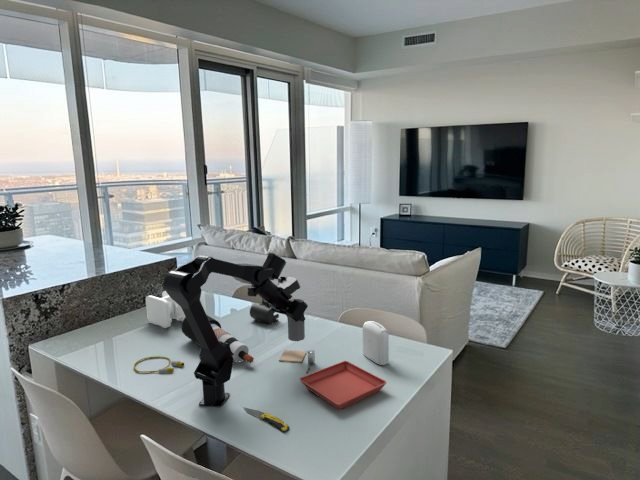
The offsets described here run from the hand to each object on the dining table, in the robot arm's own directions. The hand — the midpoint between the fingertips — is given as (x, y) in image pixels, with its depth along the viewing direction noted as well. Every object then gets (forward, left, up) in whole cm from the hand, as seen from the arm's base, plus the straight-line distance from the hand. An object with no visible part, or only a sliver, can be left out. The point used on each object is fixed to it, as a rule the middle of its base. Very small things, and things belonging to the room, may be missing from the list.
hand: (299, 317), depth 144 cm
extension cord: (-13, +44, -14) cm, 48 cm away
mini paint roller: (-7, -5, -13) cm, 16 cm away
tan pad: (-1, +2, -13) cm, 14 cm away
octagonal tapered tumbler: (-1, +1, -7) cm, 7 cm away
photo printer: (+1, -25, -14) cm, 28 cm away
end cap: (+29, +21, -14) cm, 39 cm away
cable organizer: (+23, +60, -14) cm, 66 cm away
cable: (0, +28, -14) cm, 31 cm away
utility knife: (-36, +1, -14) cm, 39 cm away
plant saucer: (-19, -16, -14) cm, 29 cm away
